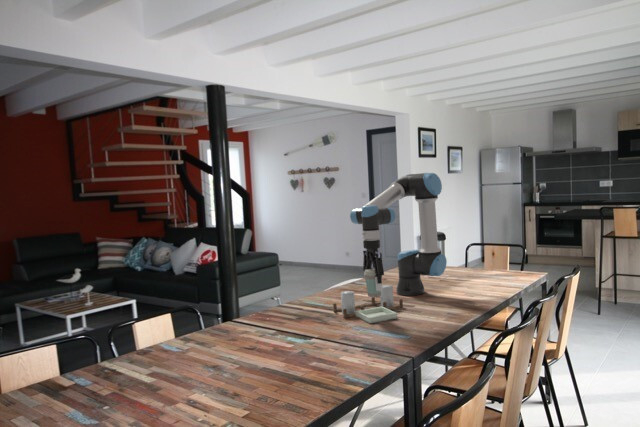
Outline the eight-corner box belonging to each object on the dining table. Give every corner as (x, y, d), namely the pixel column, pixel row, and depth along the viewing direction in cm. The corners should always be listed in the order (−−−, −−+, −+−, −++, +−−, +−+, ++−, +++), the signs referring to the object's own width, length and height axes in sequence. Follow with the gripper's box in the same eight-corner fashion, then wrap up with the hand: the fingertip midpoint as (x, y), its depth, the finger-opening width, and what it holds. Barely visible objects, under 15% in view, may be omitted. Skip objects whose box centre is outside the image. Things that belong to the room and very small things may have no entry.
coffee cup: (377, 298, 213) (376, 272, 212) (361, 297, 218) (360, 271, 217) (387, 294, 220) (385, 268, 219) (371, 293, 225) (369, 267, 224)
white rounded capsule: (351, 310, 234) (350, 290, 234) (357, 313, 228) (356, 292, 228) (340, 312, 232) (338, 292, 231) (345, 315, 226) (344, 294, 225)
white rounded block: (389, 304, 242) (388, 284, 241) (396, 306, 236) (394, 286, 235) (378, 305, 239) (377, 286, 239) (384, 308, 233) (383, 288, 233)
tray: (382, 311, 229) (382, 306, 228) (397, 318, 216) (396, 312, 215) (355, 316, 224) (355, 310, 224) (369, 323, 211) (369, 317, 210)
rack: (389, 301, 246) (389, 294, 245) (403, 307, 233) (403, 299, 233) (333, 311, 235) (332, 303, 234) (344, 318, 222) (343, 309, 222)
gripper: (353, 238, 226) (356, 285, 227) (374, 242, 206) (377, 294, 207) (368, 236, 229) (370, 283, 230) (390, 240, 209) (393, 291, 210)
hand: (374, 288), depth 219 cm, fingers closed on coffee cup, 9 cm apart
